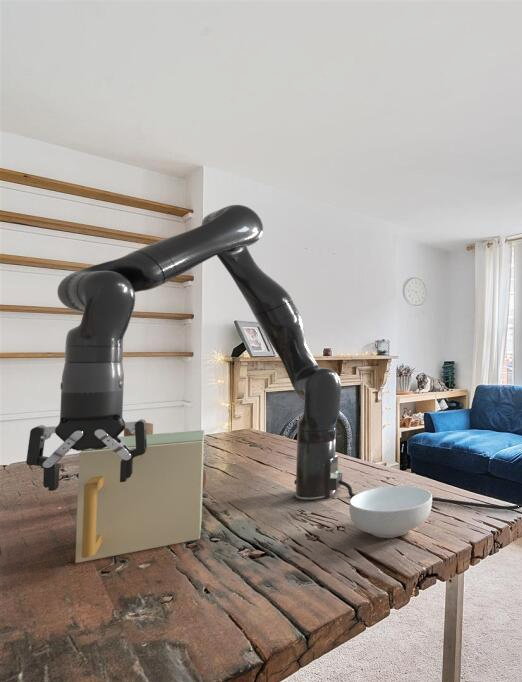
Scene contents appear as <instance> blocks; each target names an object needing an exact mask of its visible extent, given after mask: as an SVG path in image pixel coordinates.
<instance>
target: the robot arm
mask: <svg viewBox="0 0 522 682" xmlns="http://www.w3.org/2000/svg"><path fill="white" fill-rule="evenodd" d="M201 221H202V222H201V225H200V226H198V227H194V228H192V229H189V230H187V231H184V232H181V233H179V234H176V235H172V236H170V237H167V238H165V239H162V240H159V241H156V242H154V243H151V244H148V245H145V246H144V247H141V248H139V249H136V250H134V251H132V252H129V253H128V254H125V255H124V256H121V257H118V258H116V259H113V260H108V261H105V262H101V263H98V264H95V265H92V266H88V267H85V268H82V269H79V270H76V271H74V272H72V273H70V274H68V275H67V276H65V277H64V278H63V279H62V280H61V281H60V282H59V284H58V286H57V290H56V294H57V297H58V299H59V301H60V302H61V304H62V305H63V306H64V307H66V308H68V309H70V310H72V311H75V312H78V313H82V316H81V321H80V323H79V325H78V326H76V327H73V328H71V329H69V330H68V332H67V333H66V337H65V345H64V346H65V347H64V366H63V369H62V375H61V383H60V413H59V423H58V424H57V426H46V425H43V424H40V425H37V426H35V427H33V428H31V429H30V431H29V438H28V445H27V454H26V460H25V463H26V465H27V466H30V467H31V466H36V467H41V468H42V469H43V475H42V476H43V479H42V481H43V482H42V485H43V487H44V489H46V488H48V492H52V491H56V490H57V489H58V488H59V486H60V485H59V484H60V464H58V462H59V461H60V460H61V459H62V458H63V457H64V456H65V455H66V454H68V453H69V452H70V451H71V450H74V451H76V452H81V451H82V450H86V449H103V448H105V447H107V446H108V447H109V448H110V449H111V450H112V451H114V452H116V453H117V454H118V455H119V456H120V457H121V458H122V460H121V465H120V482H126V480H127V478H130V476H131V475H132V472H133V458H134V457H136V456H139V455H143V454H144V453H145V452H146V450H147V438H146V423H147V421H146V420H145V419H142V418H141V419H139V420H135V421H125V420H124V417H123V410H124V409H123V408H124V385H125V384H124V383H125V382H124V380H125V373H124V366H123V365H124V364H123V358H124V357H123V356H124V355H123V354H124V337H125V335H126V332H127V330H128V327H129V324H130V322H131V318H132V316H133V313H134V309H135V305H136V293H138V292H143V291H144V292H145V291H150V290H153V289H155V288H158V287H160V286H162V285H165V284H166V283H168V282H170V281H172V280H174V279H176V278H177V277H179V276H181V275H182V274H185V273H186V272H188V271H190V270H191V269H194V268H195V267H197V266H198V265H200V264H202V263H205V262H206V261H208V260H209V259H212V258H214V257H217V258H218V259H219V261H220V262H221V264H222V265H223V266H224V268H225V269H226V271H227V272H228V274H229V275H230V276H231V279H232V280H233V282H234V283H235V285H236V286H237V288H238V290H239V292H240V293H241V295H242V296H243V298H244V300H245V302H246V303H247V305H248V307H249V309H250V310H251V312H252V315H253V316H254V318H255V320H256V321H257V324H258V325H259V326H260V328H261V330H262V331H263V333H264V334H265V336H266V338H267V339H268V342H269V343H270V345H271V347H272V348H273V349H274V352H275V353H276V354H277V356H278V358H279V359H280V361H281V363H282V365H283V367H284V369H285V371H286V374H287V376H288V378H289V381H290V383H291V387H292V388H293V391H294V392H295V394H296V395H297V396H298V397H299V399H301V400H303V401H304V402H303V403H304V405H303V413H302V416H300V417H299V418H298V420H297V426H296V428H297V431H296V433H297V434H296V470H295V472H296V473H295V480H294V485H295V494H294V495H295V496H294V497H295V498H296V500H299V501H316V500H323V499H330V498H331V497H332V496H334V495H335V493H336V492H338V489H339V488H340V487H341V486H343V487H345V488H347V490H348V495H349V497H351V498H352V497H354V496H355V495H356V494H355V493H353V488H352V486H351V485H350V484H349V483H348V482H345V481H344V480H343V472H338V470H339V469H338V468H339V461H338V460H339V455H338V454H336V443H337V441H336V439H337V422H338V419H339V417H340V411H341V397H342V396H341V395H342V385H341V384H342V383H341V379H340V376H339V375H338V374H337V372H336V371H334V370H333V369H330V368H328V367H320V365H319V364H318V363H317V361H316V359H315V358H314V357H313V355H312V353H311V350H310V349H309V347H308V344H307V339H306V334H305V328H304V323H303V322H304V321H303V320H302V316H301V313H300V312H299V309H298V308H297V306H296V304H295V302H294V301H293V298H292V296H291V295H290V294H289V292H288V291H287V290H286V289H285V288H284V287H283V286H282V285H280V284H279V283H278V282H277V281H276V280H274V279H273V278H271V276H269V275H268V274H267V273H265V272H264V271H263V270H262V268H260V267H259V265H258V264H257V263H256V261H255V260H254V258H253V255H252V254H251V253H250V250H249V248H248V247H250V246H252V245H254V244H256V243H257V242H258V241H259V240H260V239H261V237H262V235H263V234H264V225H263V221H262V219H261V218H260V216H259V215H258V213H257V212H256V211H255V210H253V209H252V208H250V207H248V206H246V205H243V204H230V205H227V206H224V207H223V208H220V209H217V210H215V211H213V212H211V213H209V214H207V215H206V216H204V217H203V218H202V220H201ZM125 428H127V429H129V430H130V433H132V434H135V440H136V448H135V449H133V450H131V449H130V448H129V447H127V446H126V444H125V443H124V442H123V441H122V440H121V439H120V438H119V437H120V434H121V433H122V432H124V429H125ZM53 434H55V435H56V436H57V437H58V438H59V439H60V440H62V441H63V442H62V444H60V445H59V446H58V447H57V449H55V450H54V451H53V452H52V454H51V455H49V456H44V450H45V443H46V440H48V439H50V438H51V437H52V435H53ZM112 444H113V445H112ZM432 502H437V503H446V504H452V505H453V504H454V505H462V506H467V507H476V508H485V509H494V510H504V511H512V510H518V509H522V508H521V507H522V503H520V504H515V505H499V504H488V503H480V502H471V501H463V500H457V499H456V500H455V499H450V498H449V499H448V498H442V497H433V496H432ZM518 506H519V507H518Z"/></svg>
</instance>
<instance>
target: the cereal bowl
mask: <svg viewBox="0 0 522 682" xmlns="http://www.w3.org/2000/svg"><path fill="white" fill-rule="evenodd" d="M432 497H433V494H432V493H431V492H430V491H429V490H428V489H425V488H423V487H418V486H413V485H389V486H387V485H386V486H380V487H376V488H371V489H368V490H363V491H361V492H359V493H357V494H355V496H354V497H351V498H350V500H349V505H348V506H349V515H350V516H349V517H350V519H351V522H352V523H353V524H354V526H355V527H356V528H358V529H359V530H361V531H362V532H364V533H368V534H372V535H373V536H374V537H377V538H381V539H392V538H399V537H401V536H404V535H406V534H407V533H409V532H410V531H412V530H414V529H416V528H418V527H419V526H421V525H422V524H423V523H424V522H425V521H426V520H427V519H428V517H429V516H430V513H431V511H432V506H433V501H432Z"/></svg>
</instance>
